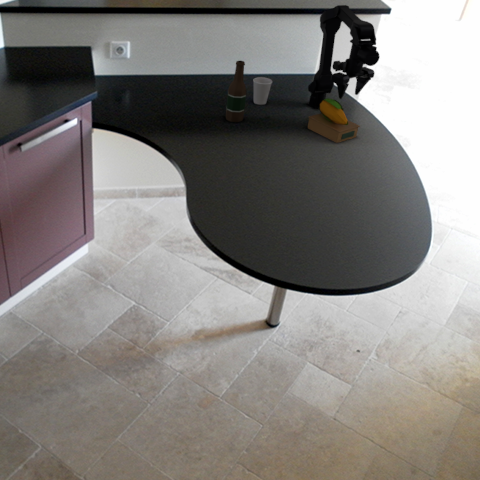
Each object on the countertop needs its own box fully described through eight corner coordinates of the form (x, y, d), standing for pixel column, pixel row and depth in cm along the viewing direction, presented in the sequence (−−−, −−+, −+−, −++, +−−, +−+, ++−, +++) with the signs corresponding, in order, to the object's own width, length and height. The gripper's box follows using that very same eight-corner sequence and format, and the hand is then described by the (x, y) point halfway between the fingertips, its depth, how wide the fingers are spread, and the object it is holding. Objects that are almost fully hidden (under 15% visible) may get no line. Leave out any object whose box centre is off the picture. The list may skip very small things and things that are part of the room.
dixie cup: (272, 101, 264) (275, 79, 258) (264, 107, 258) (267, 85, 252) (255, 97, 267) (258, 75, 261) (247, 102, 261) (250, 80, 256)
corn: (333, 92, 239) (357, 111, 223) (331, 110, 244) (354, 130, 228) (316, 94, 238) (339, 114, 222) (314, 112, 242) (336, 132, 226)
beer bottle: (245, 117, 248) (253, 60, 234) (240, 124, 242) (247, 65, 228) (228, 113, 250) (234, 57, 237) (222, 120, 244) (228, 62, 231)
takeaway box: (306, 128, 241) (308, 116, 238) (326, 122, 246) (328, 111, 243) (336, 143, 229) (339, 131, 227) (357, 137, 235) (360, 125, 232)
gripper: (357, 48, 236) (348, 86, 245) (324, 55, 228) (316, 94, 237) (379, 56, 229) (370, 95, 238) (346, 63, 220) (337, 103, 229)
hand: (348, 96), depth 235 cm, fingers open, 9 cm apart
